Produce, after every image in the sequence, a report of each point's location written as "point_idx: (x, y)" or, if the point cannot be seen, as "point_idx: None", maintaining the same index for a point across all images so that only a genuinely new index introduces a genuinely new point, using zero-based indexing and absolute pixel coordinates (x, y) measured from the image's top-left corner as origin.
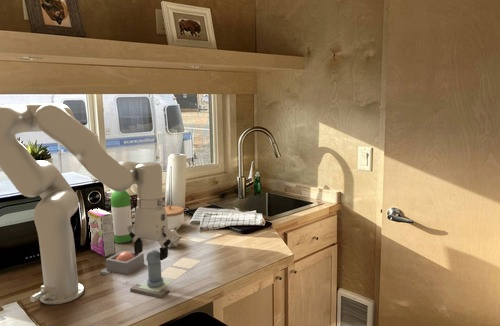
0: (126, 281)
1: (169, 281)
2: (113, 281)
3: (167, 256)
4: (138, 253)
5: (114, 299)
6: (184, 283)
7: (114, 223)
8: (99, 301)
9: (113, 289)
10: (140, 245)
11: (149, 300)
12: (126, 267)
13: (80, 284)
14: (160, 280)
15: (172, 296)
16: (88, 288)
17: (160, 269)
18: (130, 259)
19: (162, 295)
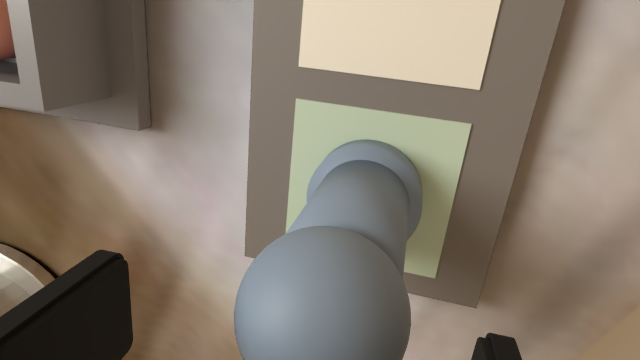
0: (156, 144)
1: (448, 130)
2: (94, 160)
3: (512, 338)
4: (130, 318)
5: (234, 327)
6: (560, 75)
7: None
8: (186, 348)
9: (160, 242)
10: (61, 349)
11: (411, 321)
12: (69, 105)
13: (5, 262)
14: (409, 213)
15: (534, 267)
16: (53, 251)
17: (405, 244)
18: (12, 29)
19: (477, 299)
